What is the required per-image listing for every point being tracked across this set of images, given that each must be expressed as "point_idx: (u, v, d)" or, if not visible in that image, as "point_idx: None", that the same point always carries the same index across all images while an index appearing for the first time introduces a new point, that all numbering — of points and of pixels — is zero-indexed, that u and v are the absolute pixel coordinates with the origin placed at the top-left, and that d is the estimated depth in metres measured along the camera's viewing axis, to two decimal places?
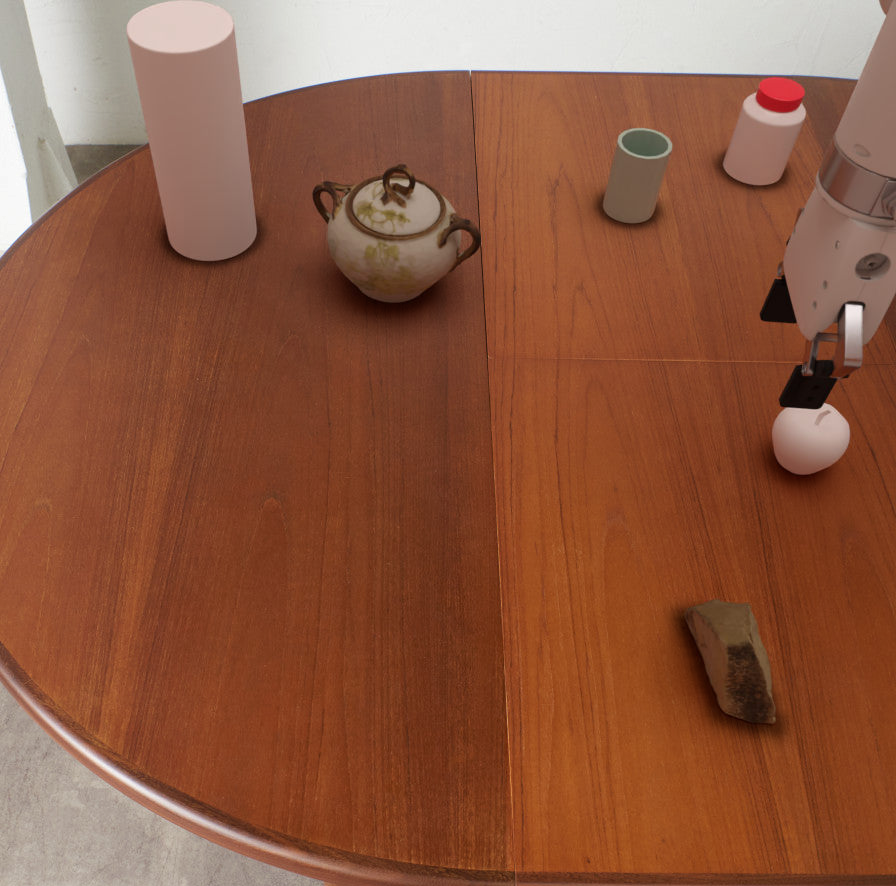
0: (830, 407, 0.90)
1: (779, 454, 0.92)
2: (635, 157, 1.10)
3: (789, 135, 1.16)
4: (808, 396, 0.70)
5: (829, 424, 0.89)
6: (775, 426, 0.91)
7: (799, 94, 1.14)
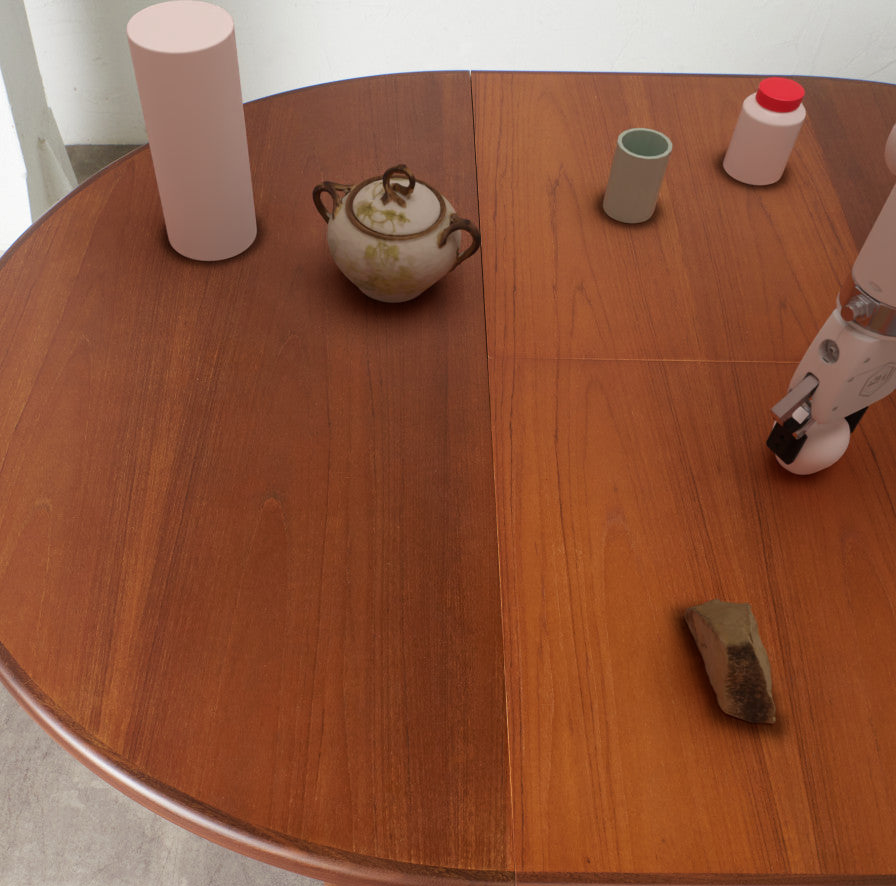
0: None
1: None
2: (635, 157, 1.10)
3: (789, 134, 1.16)
4: (777, 443, 0.89)
5: (829, 424, 0.89)
6: None
7: (799, 94, 1.14)
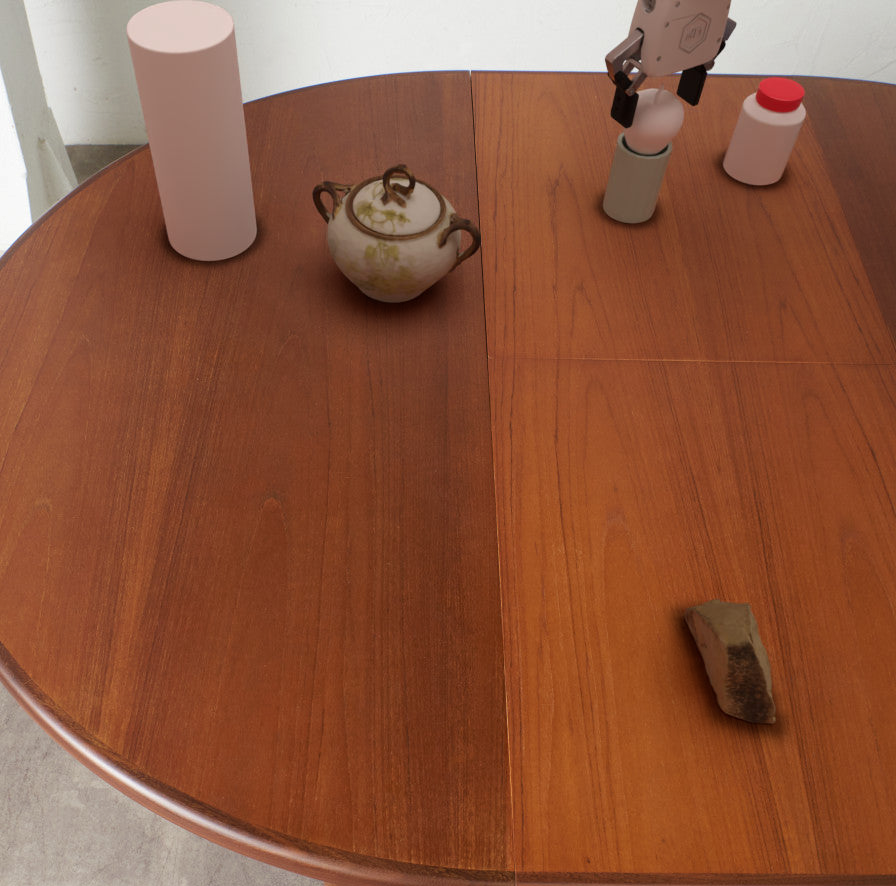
0: (667, 91, 1.08)
1: (626, 134, 1.09)
2: (635, 157, 1.10)
3: (789, 134, 1.16)
4: (616, 107, 1.05)
5: (665, 102, 1.07)
6: None
7: (799, 94, 1.14)
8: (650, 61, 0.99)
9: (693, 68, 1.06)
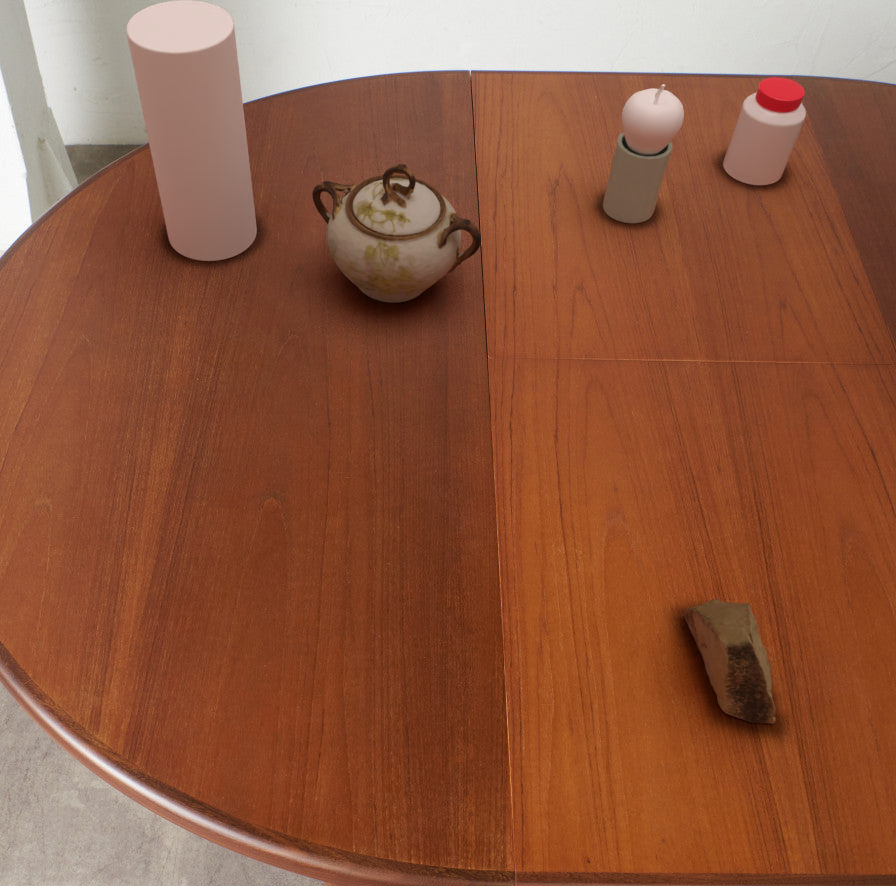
0: (667, 91, 1.08)
1: (626, 134, 1.09)
2: (635, 157, 1.10)
3: (789, 134, 1.16)
4: None
5: (665, 102, 1.07)
6: (623, 110, 1.09)
7: (799, 94, 1.14)
8: None
9: None
